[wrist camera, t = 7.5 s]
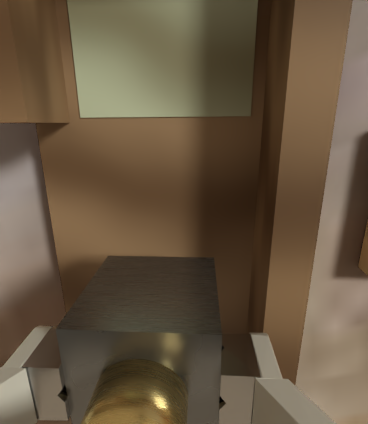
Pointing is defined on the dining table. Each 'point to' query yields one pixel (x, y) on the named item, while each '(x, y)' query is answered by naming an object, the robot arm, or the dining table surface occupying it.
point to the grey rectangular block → (144, 343)
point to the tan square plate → (364, 253)
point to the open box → (184, 139)
